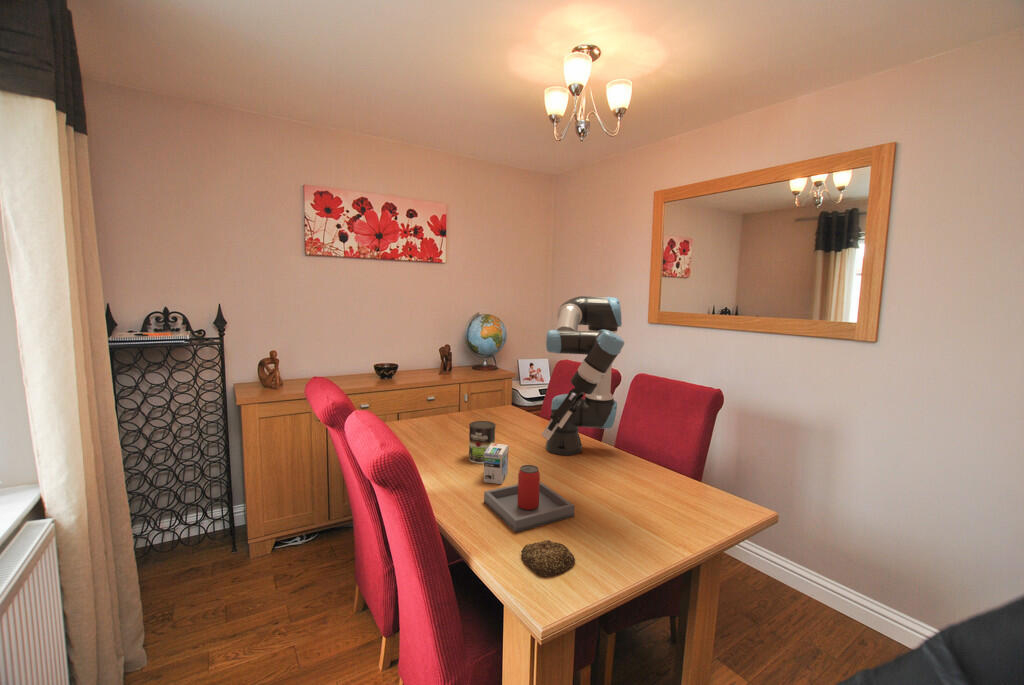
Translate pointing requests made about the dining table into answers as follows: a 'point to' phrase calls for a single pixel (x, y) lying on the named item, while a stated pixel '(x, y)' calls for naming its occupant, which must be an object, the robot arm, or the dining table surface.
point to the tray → (519, 519)
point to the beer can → (528, 487)
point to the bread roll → (547, 558)
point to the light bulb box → (496, 463)
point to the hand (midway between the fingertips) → (551, 431)
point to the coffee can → (480, 439)
